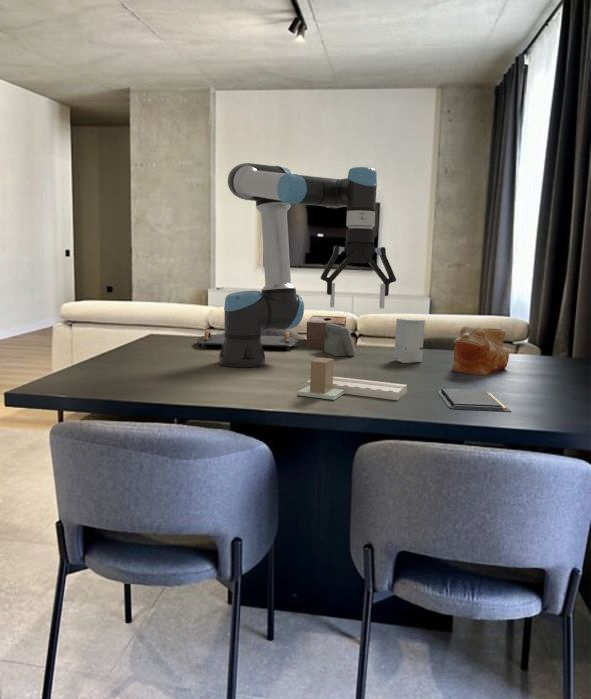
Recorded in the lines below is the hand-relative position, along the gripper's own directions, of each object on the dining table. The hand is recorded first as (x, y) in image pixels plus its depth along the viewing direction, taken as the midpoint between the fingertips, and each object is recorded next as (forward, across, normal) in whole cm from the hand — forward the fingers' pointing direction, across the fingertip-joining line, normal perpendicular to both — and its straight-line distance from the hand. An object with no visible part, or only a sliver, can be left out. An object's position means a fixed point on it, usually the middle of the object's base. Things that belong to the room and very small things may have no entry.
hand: (357, 307), depth 160 cm
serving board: (+22, -31, +68) cm, 78 cm away
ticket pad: (+22, 0, -5) cm, 22 cm away
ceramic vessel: (+22, +46, +27) cm, 57 cm away
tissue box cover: (+22, +1, +79) cm, 82 cm away
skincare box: (+22, +25, +40) cm, 52 cm away
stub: (+22, -10, -11) cm, 26 cm away
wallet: (+23, +28, -15) cm, 39 cm away
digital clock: (+22, +3, +54) cm, 58 cm away
